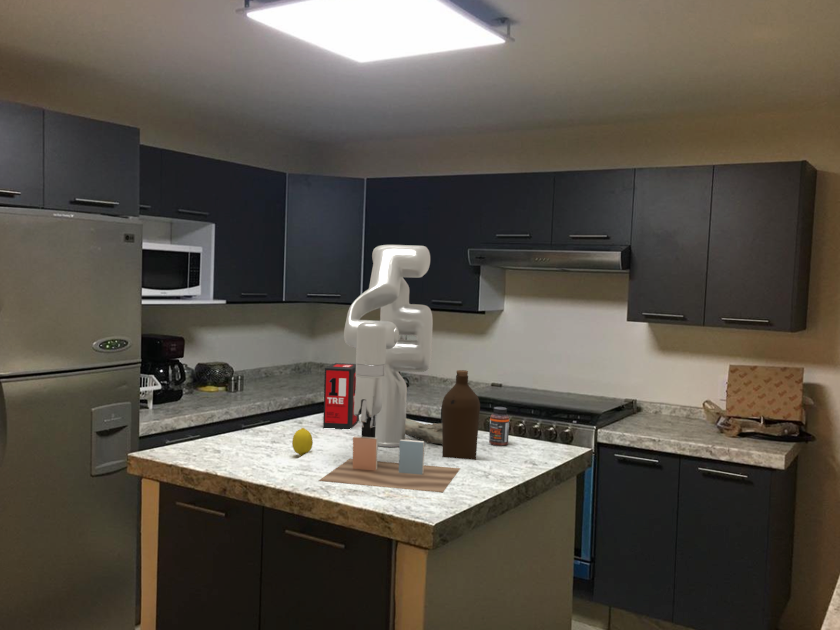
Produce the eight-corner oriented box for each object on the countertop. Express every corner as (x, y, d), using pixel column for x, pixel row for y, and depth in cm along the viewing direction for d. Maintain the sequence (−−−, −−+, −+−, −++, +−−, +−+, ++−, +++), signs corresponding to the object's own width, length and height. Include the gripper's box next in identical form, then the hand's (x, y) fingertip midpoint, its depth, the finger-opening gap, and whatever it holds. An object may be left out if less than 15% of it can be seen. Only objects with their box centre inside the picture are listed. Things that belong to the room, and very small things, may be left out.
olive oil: (479, 464, 209) (482, 373, 208) (440, 463, 209) (443, 372, 208) (476, 456, 220) (480, 369, 219) (439, 454, 220) (442, 367, 219)
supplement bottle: (486, 444, 236) (487, 408, 235) (492, 441, 241) (493, 405, 241) (505, 447, 233) (506, 410, 233) (510, 443, 239) (511, 407, 238)
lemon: (308, 459, 209) (308, 430, 209) (288, 457, 210) (289, 428, 210) (314, 455, 214) (315, 426, 214) (296, 453, 215) (296, 425, 215)
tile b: (400, 471, 193) (401, 439, 193) (423, 473, 192) (424, 441, 192) (398, 472, 192) (399, 440, 192) (422, 474, 191) (423, 442, 190)
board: (349, 464, 205) (349, 458, 205) (460, 474, 198) (460, 468, 198) (318, 487, 182) (318, 480, 182) (442, 498, 175) (442, 492, 175)
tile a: (354, 466, 196) (354, 435, 195) (377, 468, 195) (377, 437, 194) (352, 468, 194) (353, 437, 194) (375, 470, 193) (375, 439, 192)
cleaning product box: (349, 429, 252) (351, 369, 252) (323, 428, 253) (324, 368, 252) (358, 421, 269) (360, 364, 268) (333, 419, 270) (335, 363, 269)
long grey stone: (409, 429, 266) (383, 432, 261) (408, 413, 266) (382, 417, 261) (463, 443, 235) (435, 447, 230) (462, 426, 235) (434, 430, 230)
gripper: (364, 367, 204) (362, 436, 204) (347, 373, 189) (345, 447, 190) (392, 369, 202) (389, 438, 203) (376, 374, 188) (374, 449, 188)
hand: (368, 442), depth 196 cm, fingers closed
